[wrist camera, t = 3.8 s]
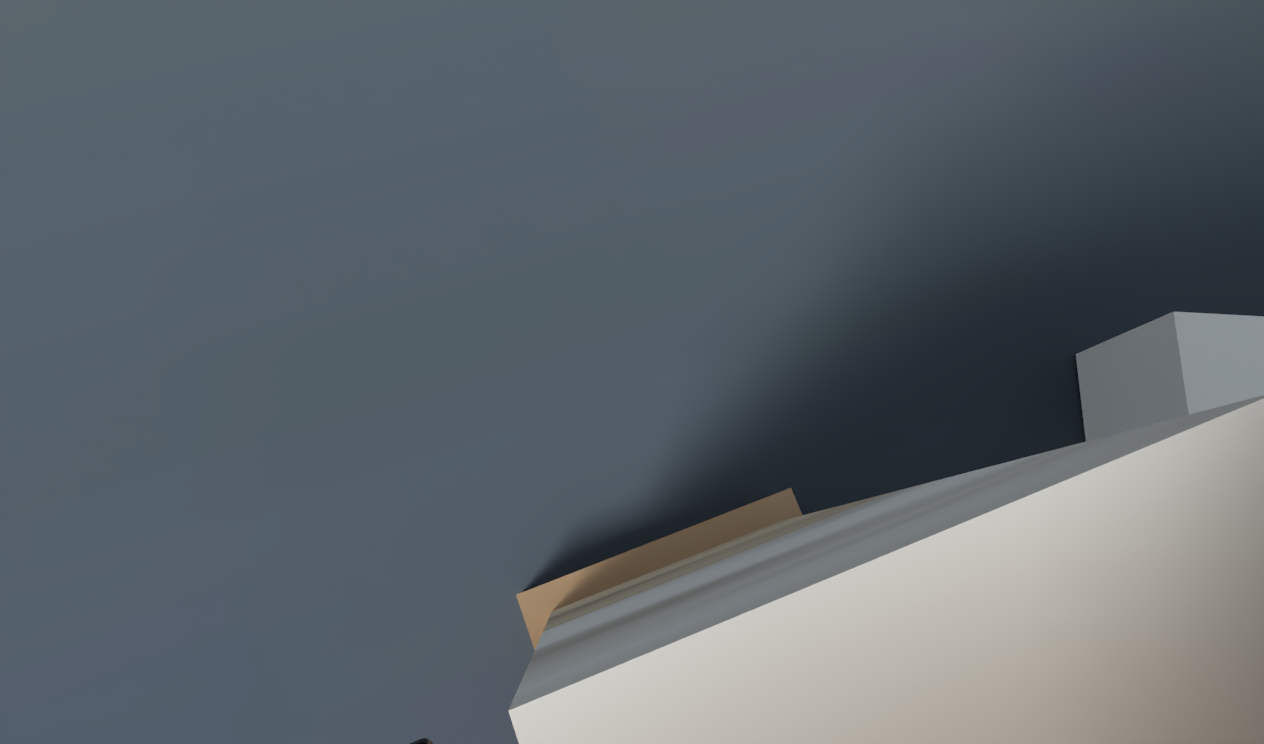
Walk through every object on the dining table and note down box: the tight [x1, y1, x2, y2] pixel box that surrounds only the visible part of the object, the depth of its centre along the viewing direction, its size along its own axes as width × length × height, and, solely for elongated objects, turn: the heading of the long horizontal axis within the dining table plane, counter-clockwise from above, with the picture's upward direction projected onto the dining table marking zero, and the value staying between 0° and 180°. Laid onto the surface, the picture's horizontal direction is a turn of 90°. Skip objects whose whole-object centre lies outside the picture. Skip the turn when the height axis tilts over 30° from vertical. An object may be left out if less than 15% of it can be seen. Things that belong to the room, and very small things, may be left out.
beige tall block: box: [508, 395, 1264, 744], centre depth 10 cm, size 6×6×12 cm
